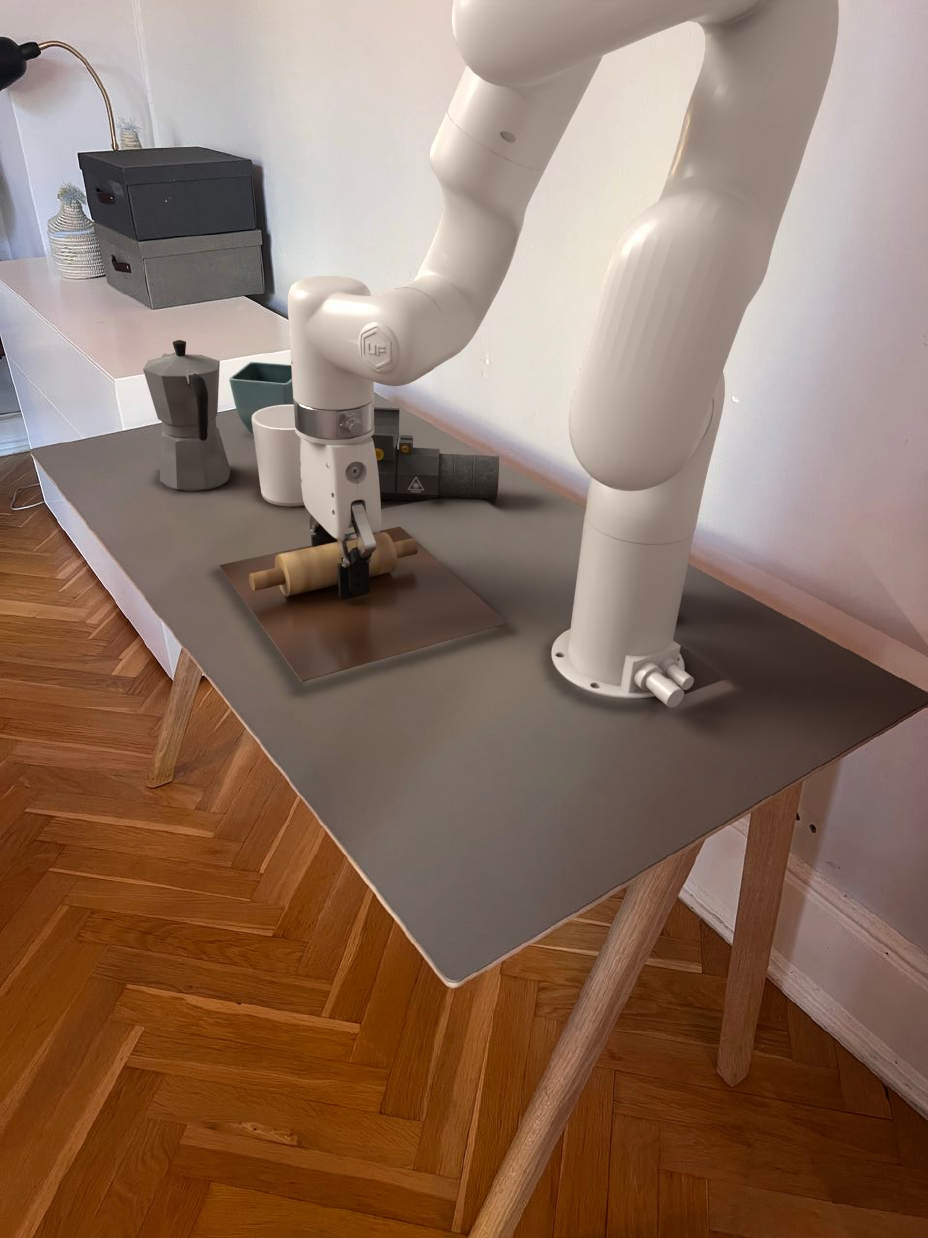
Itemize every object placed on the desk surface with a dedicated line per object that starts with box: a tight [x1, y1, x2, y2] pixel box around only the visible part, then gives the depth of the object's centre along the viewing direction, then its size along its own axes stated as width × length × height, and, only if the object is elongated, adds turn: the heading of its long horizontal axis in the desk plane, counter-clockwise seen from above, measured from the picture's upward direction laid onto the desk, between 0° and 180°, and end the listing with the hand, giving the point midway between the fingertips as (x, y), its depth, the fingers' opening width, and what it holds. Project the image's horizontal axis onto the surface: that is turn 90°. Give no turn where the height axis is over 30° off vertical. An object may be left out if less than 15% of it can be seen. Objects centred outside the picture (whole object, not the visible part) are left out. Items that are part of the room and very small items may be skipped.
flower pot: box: [228, 361, 294, 436], centre depth 133 cm, size 9×9×9 cm
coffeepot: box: [142, 339, 231, 492], centre depth 115 cm, size 15×9×18 cm, turn 29°
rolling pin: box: [249, 532, 418, 597], centre depth 96 cm, size 4×18×4 cm
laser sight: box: [371, 406, 500, 502], centre depth 116 cm, size 10×22×10 cm, turn 89°
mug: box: [252, 405, 305, 508], centre depth 114 cm, size 11×9×10 cm
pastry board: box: [218, 526, 508, 683], centre depth 95 cm, size 24×22×1 cm
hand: (340, 579), depth 96 cm, fingers open, 6 cm apart
